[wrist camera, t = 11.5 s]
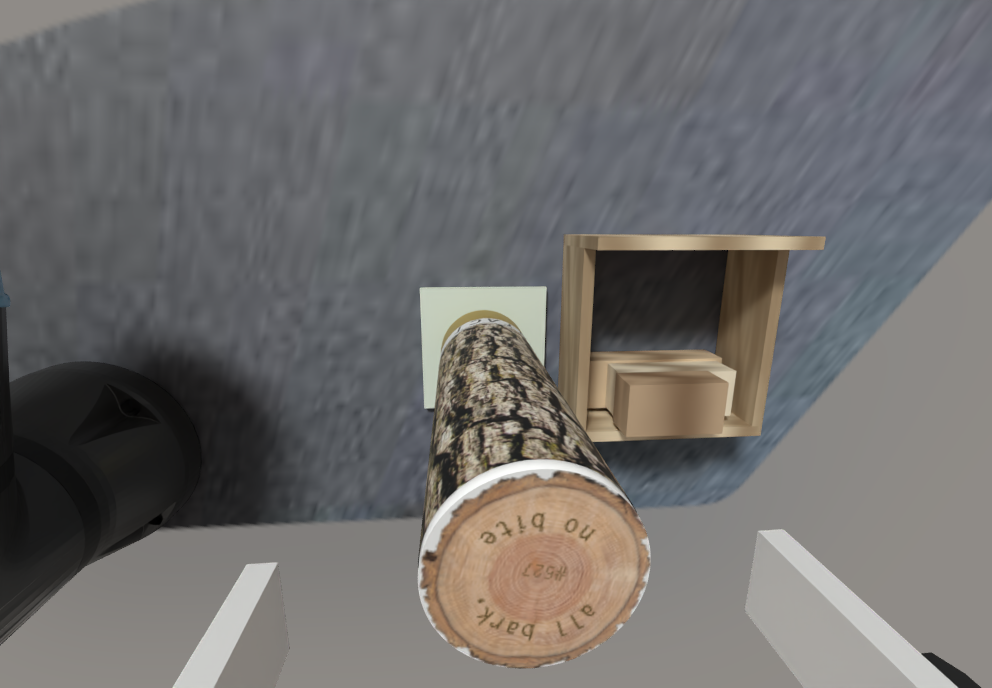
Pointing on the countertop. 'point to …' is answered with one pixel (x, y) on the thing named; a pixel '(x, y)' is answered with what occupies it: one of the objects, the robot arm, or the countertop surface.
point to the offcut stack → (662, 391)
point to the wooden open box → (740, 333)
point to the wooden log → (520, 510)
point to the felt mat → (457, 301)
